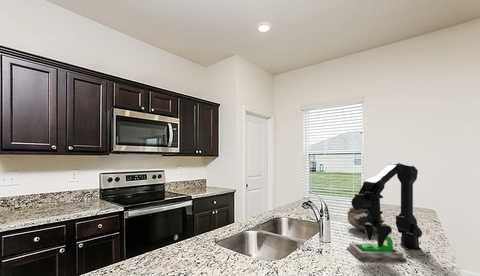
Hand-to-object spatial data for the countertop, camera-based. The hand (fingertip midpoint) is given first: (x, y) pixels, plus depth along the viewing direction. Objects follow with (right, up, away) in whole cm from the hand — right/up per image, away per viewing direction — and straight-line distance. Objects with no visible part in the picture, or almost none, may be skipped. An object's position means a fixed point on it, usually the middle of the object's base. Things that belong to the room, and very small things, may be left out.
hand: (374, 243), depth 113 cm
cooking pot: (+14, -8, +37) cm, 40 cm away
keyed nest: (0, -5, 0) cm, 5 cm away
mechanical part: (+1, -4, +1) cm, 4 cm away
